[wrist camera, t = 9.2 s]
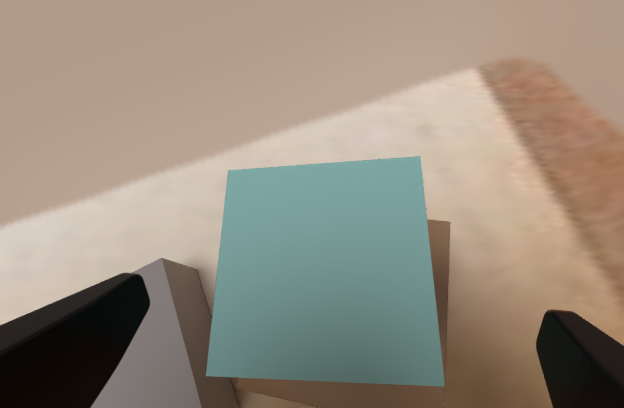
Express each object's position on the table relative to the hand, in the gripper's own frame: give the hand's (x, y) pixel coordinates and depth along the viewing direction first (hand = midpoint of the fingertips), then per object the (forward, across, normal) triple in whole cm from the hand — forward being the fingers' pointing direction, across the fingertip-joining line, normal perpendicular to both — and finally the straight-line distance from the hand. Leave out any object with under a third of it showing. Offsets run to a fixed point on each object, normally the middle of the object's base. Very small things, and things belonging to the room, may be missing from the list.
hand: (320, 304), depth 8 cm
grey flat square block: (+7, +12, +12) cm, 19 cm away
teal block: (+6, 0, +4) cm, 7 cm away
